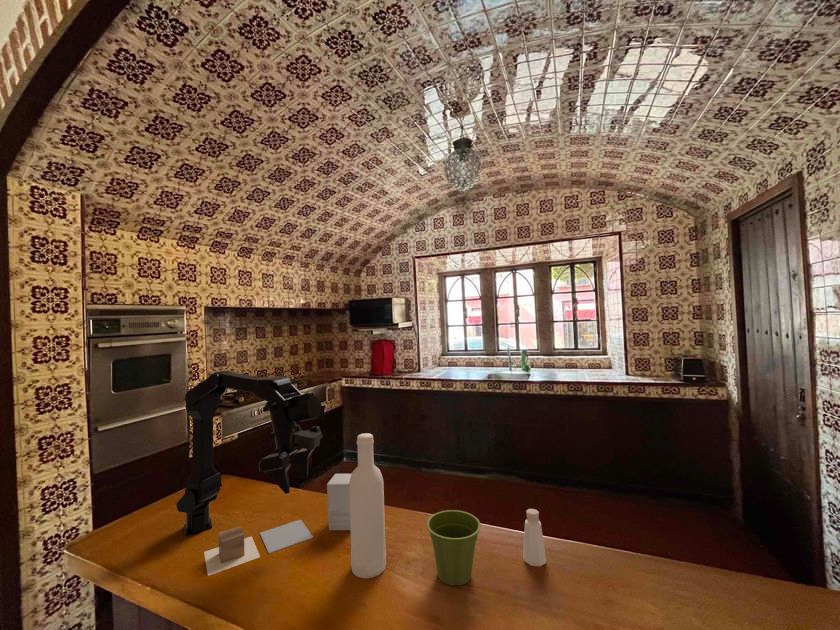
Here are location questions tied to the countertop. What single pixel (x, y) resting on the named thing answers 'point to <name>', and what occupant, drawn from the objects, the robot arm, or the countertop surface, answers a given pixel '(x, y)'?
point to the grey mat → (285, 536)
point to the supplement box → (339, 502)
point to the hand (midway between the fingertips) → (296, 485)
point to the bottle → (367, 513)
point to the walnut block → (231, 544)
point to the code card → (215, 563)
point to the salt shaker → (533, 540)
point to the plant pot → (454, 544)
